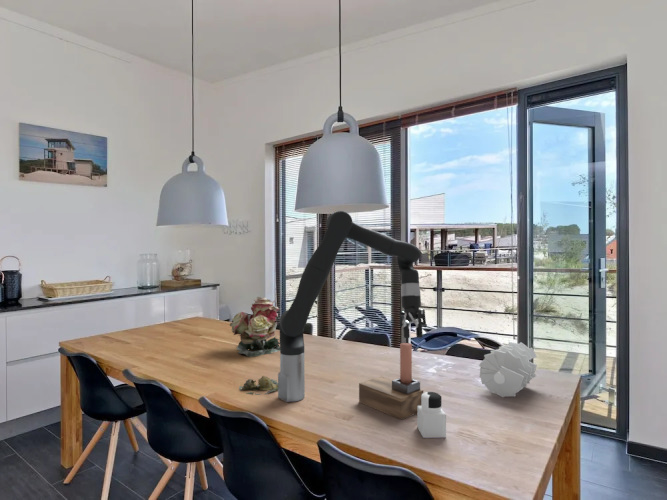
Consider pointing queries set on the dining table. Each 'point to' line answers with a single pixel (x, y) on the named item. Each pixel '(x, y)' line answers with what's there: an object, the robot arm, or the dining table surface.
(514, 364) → the spiral staircase
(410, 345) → the key peg
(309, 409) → the dining table surface
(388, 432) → the dining table surface
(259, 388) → the mossy rock cluster
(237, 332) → the rose bouquet
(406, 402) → the brown wooden block
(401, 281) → the robot arm
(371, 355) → the dining table surface
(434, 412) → the medicine bottle
